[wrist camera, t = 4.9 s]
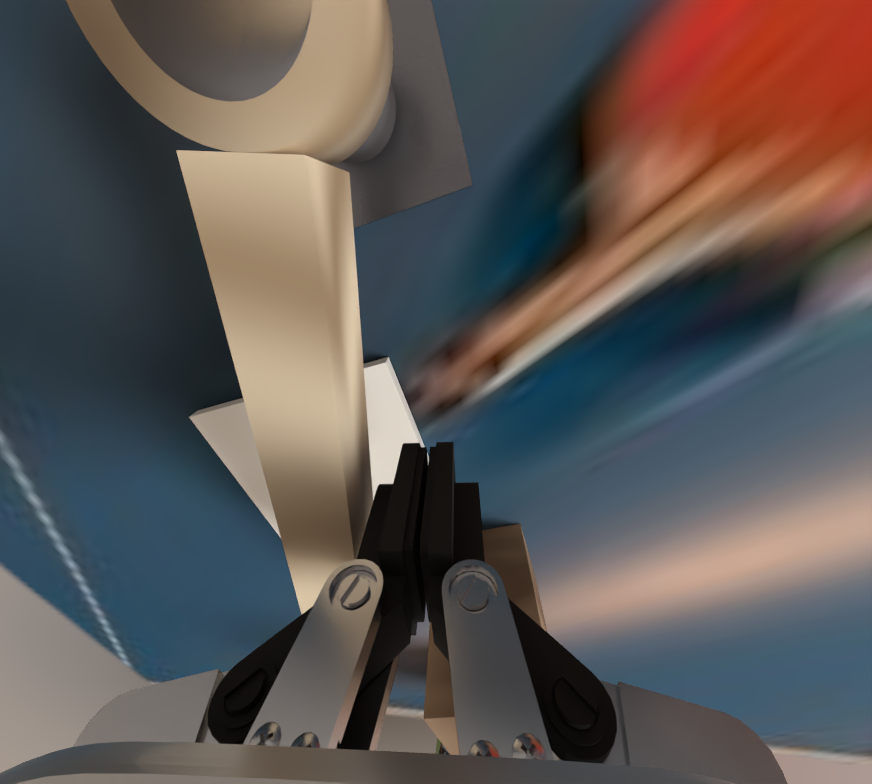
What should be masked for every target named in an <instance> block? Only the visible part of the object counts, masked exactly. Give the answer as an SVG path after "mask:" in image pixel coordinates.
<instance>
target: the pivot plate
mask: <svg viewBox="0 0 872 784" xmlns="http://www.w3.org/2000/svg"><path fill="white" fill-rule="evenodd" d="M387 1H388V5H389V11H390V17H391V23H392V33H393V67H392V75H391V82H392V85H393V89H394V93H395V99H396V119H395V125H394V129H393V132H392V135H391V137H390V139H389V141H388V143H387V144H386V146H385V147H384V149H383V150H382V151H381V152H380V153H379V154H378V155H376V156H375V157H374V158H372V159H370V160H368V161H365V162H361V163H347V162H343V161H341V162H340V163H338V164H336V165H333V166H334V167H337V168H339V169H342V170H344V171H347V172H349V174H350V188H351V202H352V215H353V229H355V228H357V227H360V226H363V225H365V224H368V223H371V222H374V221H376V220H379V219H382V218H385V217H387V216H390V215H393V214H396V213H398V212H401V211H404V210H406V209H409V208H412V207H415V206H417V205H420V204H423V203H426V202H428V201H431V200H434V199H437V198H439V197H442V196H445V195H448V194H450V193H453V192H456V191H458V190H461V189H464V188H467V187H469V186H472V185H473V184H472V180H471V175H470V171H469V166H468V162H467V157H466V153H465V148H464V144H463V140H462V135H461V131H460V126H459V122H458V117H457V113H456V108H455V104H454V100H453V95H452V91H451V86H450V82H449V77H448V73H447V68H446V64H445V59H444V55H443V51H442V46H441V42H440V37H439V33H438V28H437V24H436V19H435V15H434V11H433V6H432V2H431V0H387Z"/></svg>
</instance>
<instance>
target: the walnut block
mask: <svg viewBox="0 0 872 784" xmlns="http://www.w3.org/2000/svg"><path fill="white" fill-rule="evenodd" d="M482 534H483V546H484V558H485V563H487V564H489V565H490V566H492V567H493V568H494V569H495V570H496V571H497V572H498V574H499V575H500V577H501V579H502V581H503V583H504V587H505V590H506V594H507V597H508V598H509V599H510V600H511V601H512V602H513V603H515V604H516V605H517V606H518V607H519V608H520V609H521V610H522V611H523V612H525V613H526V614H527V615H528V616H529V617H530V618H531V619H532V620H534V621H535V622H536V623H537V624H538V625H539V626H540V627H541V628H543V629H544V630H545V631H546V632H547V629H546V624H545V620H544V615H543V610H542V606H541V601H540V597H539V592H538V587H537V583H536V578H535V575H534V571H533V567H532V564H531V560H530V557H529V553H528V549H527V546H526V542H525V539H524V535H523V532H522V528H521V524H516V525H510V526H504V527H498V528H492V529H486V530H482ZM424 720H425V721H426V723H427V724H428V725H429V727H430V728H431V729H432V731H433V732H434V733H435V735H436V736H437V737H438V739H439V740H440V741H441V743H442V744H443V745H444V747H445V748H446V750H447V751H448V752H449V754H450V755H459V750H458V741H457V732H456V723H455V714H454V705H453V696H452V687H451V678H450V669H449V661H448V660H447V659H446V657H445V656H444V655H443V654H442V652H441V651H440V650H439V649H438V648H437V646H436V645H435V644H434V639H433V631H432V624H431V622H430V630H429V645H428V660H427V676H426V691H425V706H424Z"/></svg>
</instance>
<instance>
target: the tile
mask: <svg viewBox="0 0 872 784" xmlns="http://www.w3.org/2000/svg"><path fill="white" fill-rule="evenodd" d="M363 367H364V381H365V395H366V408H367V422H368V436H369V450H370V464H371V477H372V491H373V500H374V497H375V493H376V490H377V487H378V485H379V484H393V483H394V478H395V474H396V470H397V466H398V461H399V457H400V453H401V448H402V445H403V443H420V446H421V447H425V446H424V444H423V441H422V439H421V436H420V434H419V431H418V429H417V426H416V424H415V422H414V419H413V417H412V414H411V412H410V409H409V407H408V404H407V402H406V399H405V397H404V394H403V392H402V389H401V387H400V384H399V382H398V379H397V377H396V374H395V372H394V369H393V367H392V364H391V362H390V360H389V357H386V358H383V359H379V360H376V361H372V362H369V363H365V364H363ZM189 418H190V419H191V420H192V422H193V423H194V424H195V426H196V427H197V428H198V430H199V431H200V432H201V434H202V435H203V436H204V438H205V439H206V440H207V442H208V443H209V444H210V446H211V447H212V448H213V449H214V451H215V452H216V453H217V455H218V456H219V457H220V459H221V460H222V461H223V463H224V464H225V465H226V467H227V468H228V469H229V471H230V472H231V473H232V474H233V476H234V477H235V478H236V480H237V481H238V482H239V484H240V485H241V486H242V488H243V489H244V490H245V492H246V493H247V494H248V496H249V497H250V498H251V500H252V501H253V502H254V503H255V505H256V506H257V507H258V509H259V510H260V511H261V513H262V514H263V515H264V517H265V518H266V519H267V521H268V522H269V523H270V525H271V526H272V527H273V528H274V530H275V531H276V532H277V534H278V535H279V536H280V532H279V528H278V525H277V521H276V517H275V514H274V510H273V506H272V503H271V499H270V495H269V491H268V488H267V484H266V480H265V477H264V473H263V469H262V466H261V462H260V458H259V454H258V451H257V447H256V443H255V440H254V436H253V432H252V429H251V425H250V421H249V418H248V414H247V410H246V406H245V403H244V399H243V398H241V399H237V400H233V401H230V402H226V403H223V404H219V405H216V406H212V407H208V408H205V409H201V410H198V411H196V412H195V413H194V414H192V415H191V416H190V417H189ZM427 457H428V463H429V456H428V454H427ZM280 538H281V536H280Z"/></svg>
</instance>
